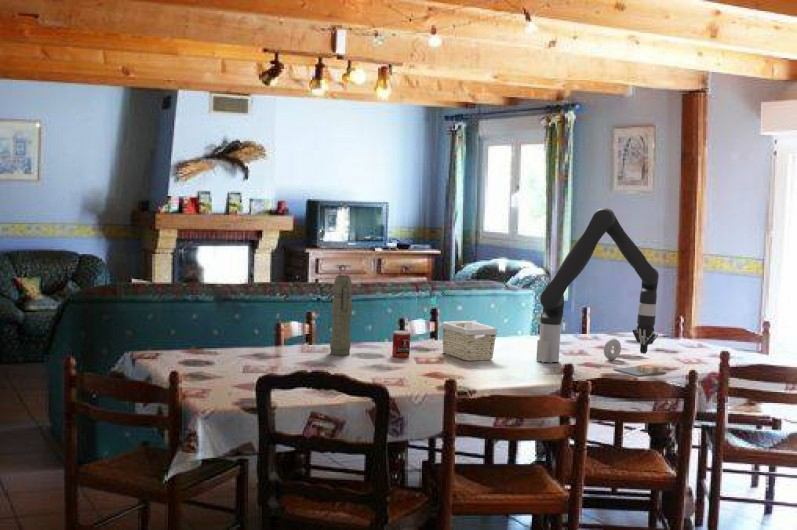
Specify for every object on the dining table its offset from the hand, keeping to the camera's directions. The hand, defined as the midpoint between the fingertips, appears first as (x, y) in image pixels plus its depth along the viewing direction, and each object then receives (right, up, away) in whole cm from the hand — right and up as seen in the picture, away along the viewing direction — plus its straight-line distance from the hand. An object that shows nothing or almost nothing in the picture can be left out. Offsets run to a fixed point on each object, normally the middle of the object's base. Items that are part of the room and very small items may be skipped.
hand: (643, 353), depth 430 cm
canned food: (-105, -3, +10) cm, 106 cm away
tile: (+1, -6, +3) cm, 7 cm away
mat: (-1, -8, +1) cm, 8 cm away
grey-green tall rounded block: (-132, -1, +9) cm, 132 cm away
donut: (-8, -6, +26) cm, 28 cm away
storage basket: (-75, -3, +18) cm, 77 cm away
